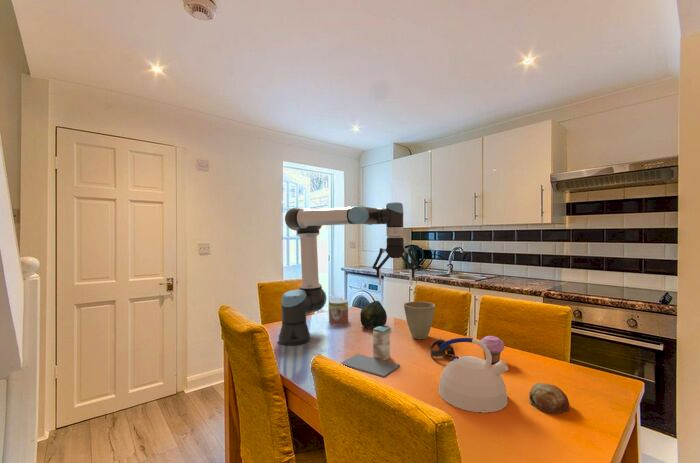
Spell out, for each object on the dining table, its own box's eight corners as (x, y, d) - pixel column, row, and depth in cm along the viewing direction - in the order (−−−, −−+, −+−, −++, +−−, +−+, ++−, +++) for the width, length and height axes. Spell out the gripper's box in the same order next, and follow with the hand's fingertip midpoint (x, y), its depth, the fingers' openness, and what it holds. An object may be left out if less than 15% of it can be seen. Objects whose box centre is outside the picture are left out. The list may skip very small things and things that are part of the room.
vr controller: (460, 363, 127) (451, 346, 125) (438, 372, 128) (429, 356, 127) (452, 345, 138) (444, 330, 137) (432, 353, 140) (424, 338, 138)
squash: (350, 316, 177) (364, 298, 170) (368, 312, 188) (381, 295, 181) (365, 337, 169) (380, 319, 163) (382, 332, 180) (397, 315, 174)
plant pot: (441, 337, 155) (441, 305, 155) (420, 344, 147) (419, 309, 147) (419, 330, 168) (418, 299, 168) (398, 335, 159) (397, 303, 159)
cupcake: (480, 364, 124) (480, 338, 124) (479, 356, 132) (479, 331, 132) (505, 367, 121) (505, 340, 121) (503, 358, 129) (502, 334, 129)
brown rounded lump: (528, 408, 99) (517, 386, 99) (555, 392, 100) (545, 370, 100) (550, 428, 89) (538, 403, 89) (581, 410, 90) (569, 385, 90)
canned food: (326, 324, 182) (326, 303, 182) (331, 318, 193) (331, 298, 193) (346, 324, 180) (346, 303, 180) (349, 319, 191) (349, 299, 191)
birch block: (373, 358, 131) (372, 329, 131) (379, 354, 136) (379, 326, 136) (383, 361, 129) (383, 331, 129) (390, 357, 133) (389, 328, 133)
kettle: (504, 421, 87) (503, 355, 87) (429, 401, 98) (428, 342, 98) (512, 390, 104) (511, 334, 104) (447, 375, 115) (447, 325, 115)
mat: (340, 364, 126) (340, 363, 126) (357, 354, 136) (357, 353, 136) (384, 377, 114) (384, 376, 114) (400, 365, 124) (400, 364, 124)
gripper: (366, 237, 140) (367, 286, 140) (424, 237, 138) (425, 286, 138) (367, 237, 148) (367, 283, 148) (422, 236, 146) (422, 283, 146)
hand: (395, 284), depth 143 cm, fingers open, 13 cm apart
